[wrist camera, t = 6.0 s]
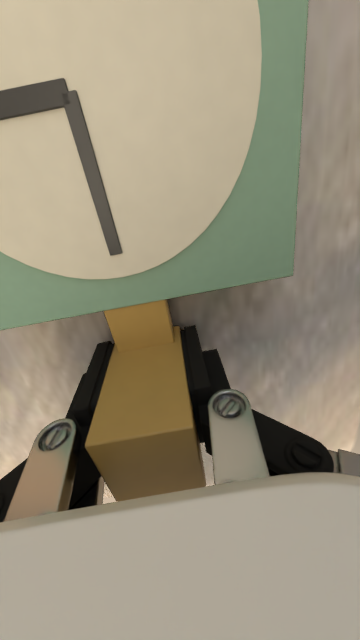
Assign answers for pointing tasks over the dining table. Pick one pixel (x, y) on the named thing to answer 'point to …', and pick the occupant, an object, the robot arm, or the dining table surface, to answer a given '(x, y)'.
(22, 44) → the clock
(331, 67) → the dining table surface
